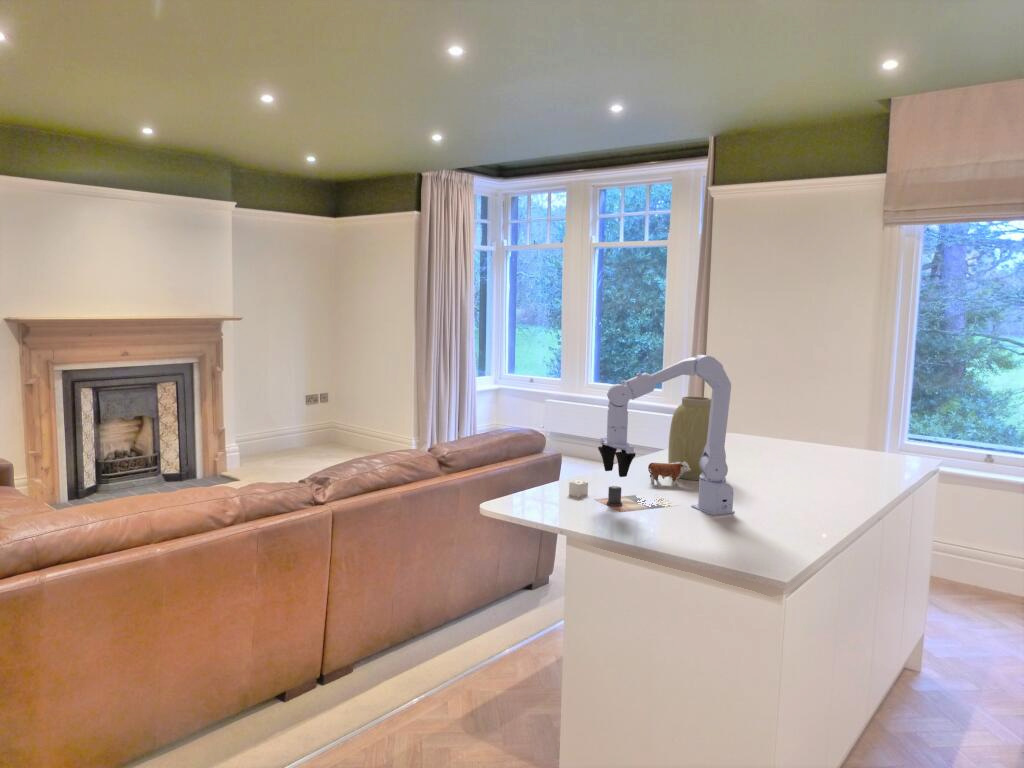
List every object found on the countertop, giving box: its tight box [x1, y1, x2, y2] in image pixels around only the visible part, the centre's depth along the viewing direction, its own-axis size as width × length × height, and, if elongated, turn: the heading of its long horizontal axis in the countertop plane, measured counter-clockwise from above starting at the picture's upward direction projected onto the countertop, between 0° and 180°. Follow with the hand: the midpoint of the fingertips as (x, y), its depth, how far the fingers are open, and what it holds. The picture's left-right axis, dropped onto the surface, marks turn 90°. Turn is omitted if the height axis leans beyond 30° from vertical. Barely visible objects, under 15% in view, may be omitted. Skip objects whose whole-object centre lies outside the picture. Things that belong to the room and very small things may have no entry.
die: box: [568, 479, 589, 498], centre depth 214 cm, size 4×4×4 cm
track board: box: [594, 494, 673, 513], centre depth 206 cm, size 14×20×1 cm
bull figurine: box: [647, 461, 691, 487], centre depth 228 cm, size 4×13×8 cm, turn 79°
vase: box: [667, 396, 711, 481], centre depth 241 cm, size 17×17×27 cm
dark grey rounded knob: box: [606, 485, 622, 507], centre depth 203 cm, size 4×4×5 cm
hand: (615, 473), depth 202 cm, fingers open, 7 cm apart
